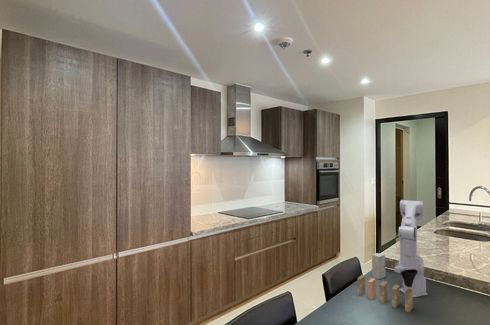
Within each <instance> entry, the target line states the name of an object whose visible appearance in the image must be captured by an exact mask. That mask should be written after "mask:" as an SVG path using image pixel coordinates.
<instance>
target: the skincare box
mask: <svg viewBox="0 0 490 325" xmlns="http://www.w3.org/2000/svg"><path fill="white" fill-rule="evenodd" d="M371 272H372V274H371V275H372V277H371V278H375V279H376V280H377V279H378V280H381V279H384V278H386V255H385V254H384V253H380V252H377V253H372V254H371Z"/></svg>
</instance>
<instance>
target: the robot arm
mask: <svg viewBox="0 0 490 325" xmlns="http://www.w3.org/2000/svg"><path fill="white" fill-rule="evenodd" d="M399 211H400V215H401V218H402V219H401V223H400V226H399V227H398V239H399V246H400V247H399V252H400V253H399V261H398V262H397V263H398V264H397V265H396V266H394V272H395V273H398V274H401V277H402V287H401V288H400V292H402V294H403V293H404V294H405V292H406V290H407V289H408V288H409V289H413V298H417V297H422V296H427V295H429V294H428V293H427V279H426V277H425V275H424V274H425V273H424V271H425V270H424V259H423V257H421V256H420V255H419V254H418V253H417V252H418V251H417V249H418V248H417V247H418V244H417V243H418V240H417V239H418V223H419V220H423V218H424V201H423V200H407V199H406V200H405V199H400V201H399Z"/></svg>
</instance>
